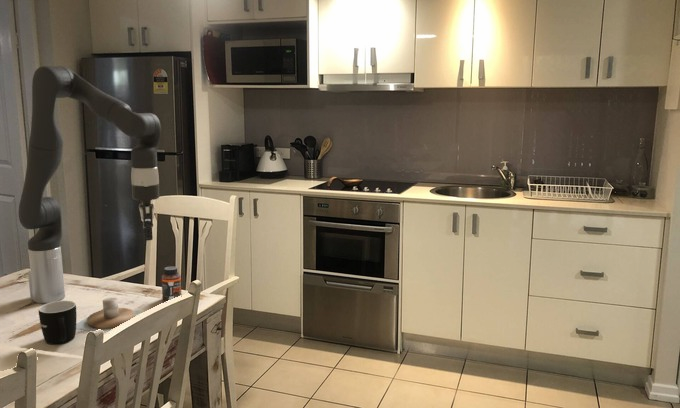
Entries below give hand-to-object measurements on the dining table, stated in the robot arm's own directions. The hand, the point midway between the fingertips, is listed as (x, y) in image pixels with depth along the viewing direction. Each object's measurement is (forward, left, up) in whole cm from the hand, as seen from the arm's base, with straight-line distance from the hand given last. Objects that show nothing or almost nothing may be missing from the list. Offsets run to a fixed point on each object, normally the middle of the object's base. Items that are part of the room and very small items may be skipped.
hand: (147, 236), depth 167 cm
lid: (-8, -9, -24) cm, 26 cm away
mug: (-12, -25, -25) cm, 37 cm away
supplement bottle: (0, +11, -25) cm, 27 cm away
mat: (-8, -9, -24) cm, 27 cm away
